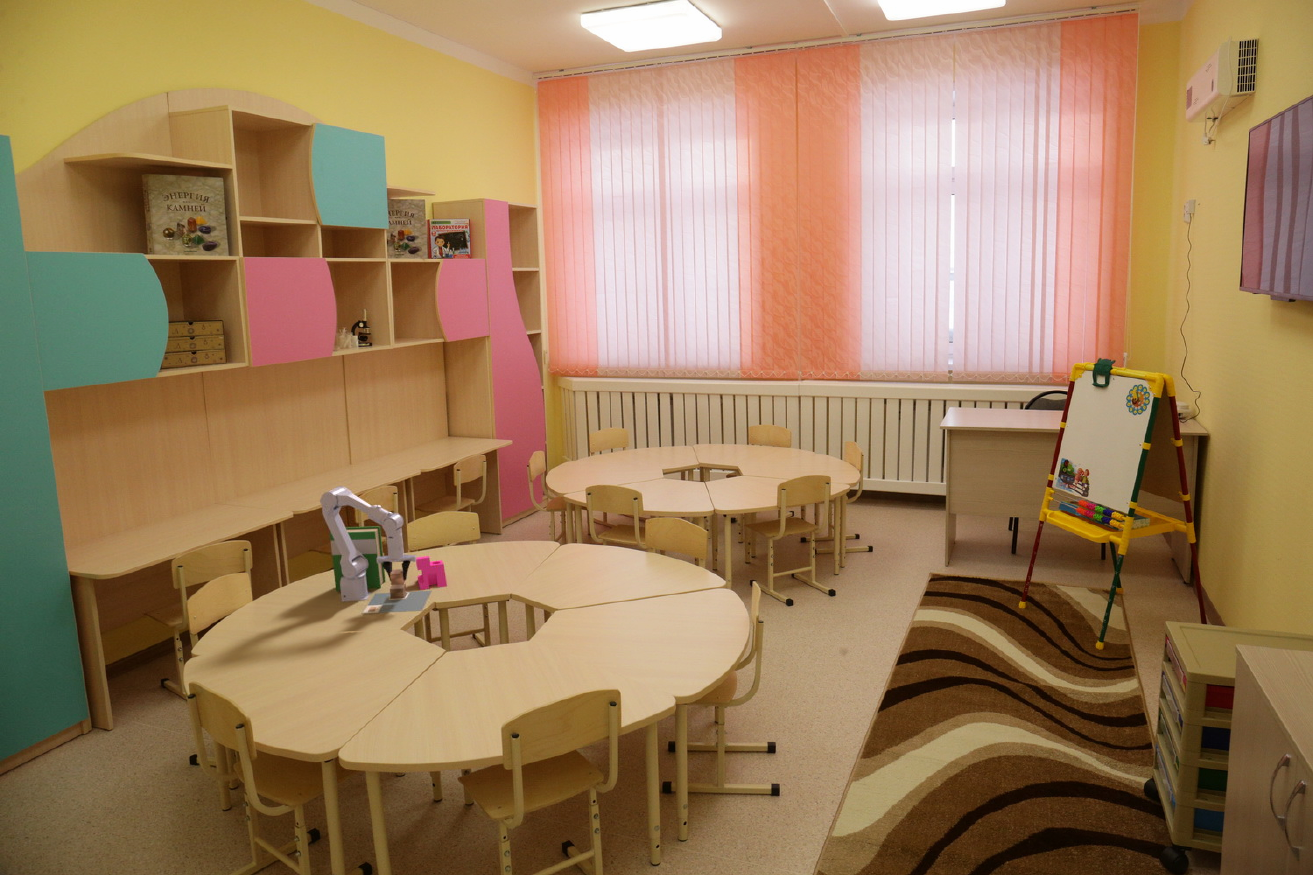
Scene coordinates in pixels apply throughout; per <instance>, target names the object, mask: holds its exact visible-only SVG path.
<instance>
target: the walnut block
mask: <svg viewBox="0 0 1313 875" xmlns="http://www.w3.org/2000/svg"><path fill="white" fill-rule="evenodd" d="M407 592H408V591H407V584H406V583H404V584H403V585H391V586H390V588H389V593H390V597H391V599H397V598H404V597H405V595H406V594H407Z"/></svg>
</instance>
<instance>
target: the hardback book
mask: <svg viewBox="0 0 1313 875" xmlns="http://www.w3.org/2000/svg"><path fill="white" fill-rule="evenodd" d="M345 528H346V530H347V532H348V534H349V536H350V538H351V541H352V543H353V545H354V547H355V549H356V550H358V551H360V552H361V553H362V555H363V556H364V557H365V558H366V559H367V561H368V568H367V569H366V582H367V590H368V589H381V588H382V584H383V583H386V581H387V580H386V570H385V569H384V568H383V563H377V557H383V556H384V552H383V543H382V542H383V540H382V531H381V525H376V526H345ZM329 539H330V547H331V548H330V549H331V557H332V565H333V573H334V576H333V577H334V582H335V591H336V592H341V588H340V581H341V578H342V577H343V576H344V575H343V574H342V567H341V564H340V561H341V558H342V555H341V553H340V551H339V549H338V546H337V544H336V542H335V540H334V538H333V536H332V534H331V532H329ZM352 560H353V559H352Z"/></svg>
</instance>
